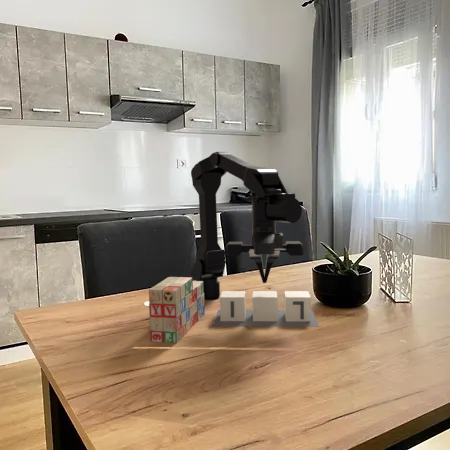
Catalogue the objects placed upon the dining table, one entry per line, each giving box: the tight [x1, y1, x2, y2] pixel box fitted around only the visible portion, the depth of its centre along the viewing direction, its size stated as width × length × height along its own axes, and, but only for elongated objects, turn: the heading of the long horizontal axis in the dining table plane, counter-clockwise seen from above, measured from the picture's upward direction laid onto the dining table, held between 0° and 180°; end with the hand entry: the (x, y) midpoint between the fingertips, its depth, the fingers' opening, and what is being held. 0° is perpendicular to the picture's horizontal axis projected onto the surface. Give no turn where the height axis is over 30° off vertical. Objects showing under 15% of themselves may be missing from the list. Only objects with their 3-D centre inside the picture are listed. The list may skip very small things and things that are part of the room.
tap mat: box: [212, 309, 319, 327], centre depth 113 cm, size 25×13×1 cm, turn 85°
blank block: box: [252, 290, 279, 321], centre depth 113 cm, size 6×6×6 cm
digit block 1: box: [219, 290, 247, 321], centre depth 113 cm, size 6×6×6 cm
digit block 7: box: [283, 290, 312, 322], centre depth 112 cm, size 6×6×6 cm
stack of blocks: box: [148, 276, 206, 344], centre depth 107 cm, size 21×6×12 cm, turn 166°
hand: (264, 282), depth 112 cm, fingers closed
